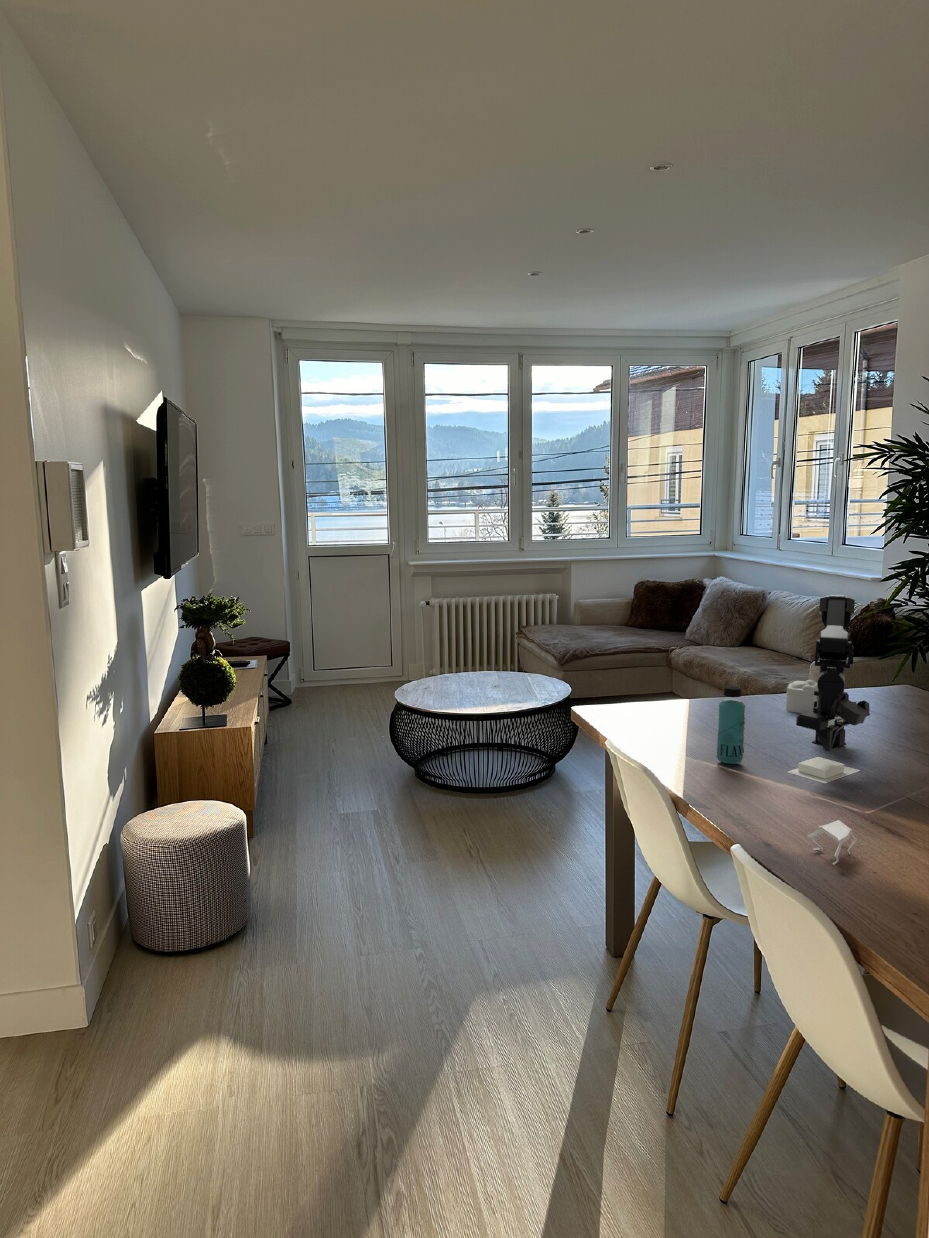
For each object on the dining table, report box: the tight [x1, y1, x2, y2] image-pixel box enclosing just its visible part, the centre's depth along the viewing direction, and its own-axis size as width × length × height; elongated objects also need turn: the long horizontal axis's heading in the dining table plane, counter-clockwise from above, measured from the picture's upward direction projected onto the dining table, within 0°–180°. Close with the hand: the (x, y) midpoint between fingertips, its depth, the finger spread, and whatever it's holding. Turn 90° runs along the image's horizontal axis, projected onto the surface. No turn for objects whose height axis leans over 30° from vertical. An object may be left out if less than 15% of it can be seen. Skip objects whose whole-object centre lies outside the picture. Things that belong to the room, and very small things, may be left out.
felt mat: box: [787, 765, 862, 784], centre depth 204 cm, size 10×15×1 cm, turn 125°
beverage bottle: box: [715, 685, 746, 765], centre depth 208 cm, size 6×7×20 cm
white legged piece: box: [807, 819, 858, 866], centre depth 158 cm, size 12×8×5 cm
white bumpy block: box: [785, 679, 818, 714], centre depth 260 cm, size 10×13×9 cm
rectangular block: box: [797, 756, 846, 779], centre depth 203 cm, size 7×2×8 cm
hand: (827, 750), depth 203 cm, fingers closed
